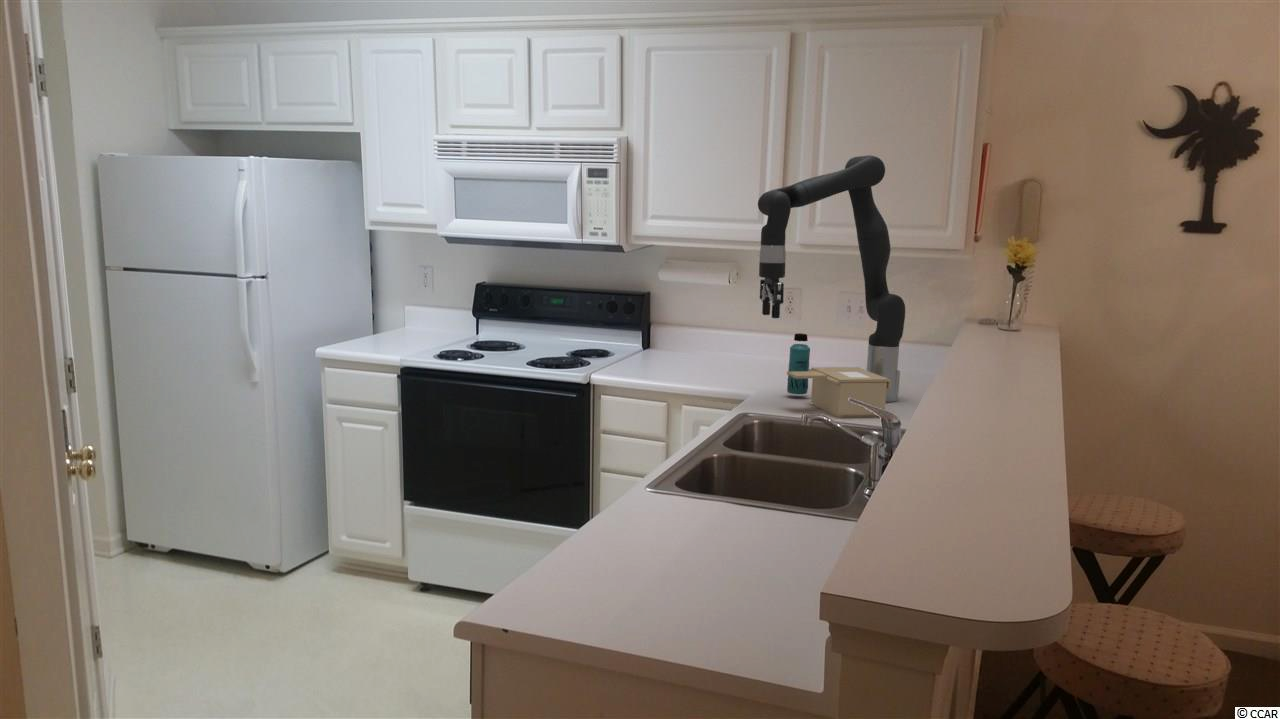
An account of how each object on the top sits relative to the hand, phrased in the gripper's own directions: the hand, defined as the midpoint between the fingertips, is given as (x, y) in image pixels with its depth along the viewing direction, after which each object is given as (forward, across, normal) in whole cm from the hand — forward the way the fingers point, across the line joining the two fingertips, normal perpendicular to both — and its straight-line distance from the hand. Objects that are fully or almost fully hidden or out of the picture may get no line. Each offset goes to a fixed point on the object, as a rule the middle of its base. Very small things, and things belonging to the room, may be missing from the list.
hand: (770, 316), depth 276 cm
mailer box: (+27, -9, -21) cm, 35 cm away
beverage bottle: (+27, +11, -13) cm, 32 cm away
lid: (+19, -9, -17) cm, 26 cm away
